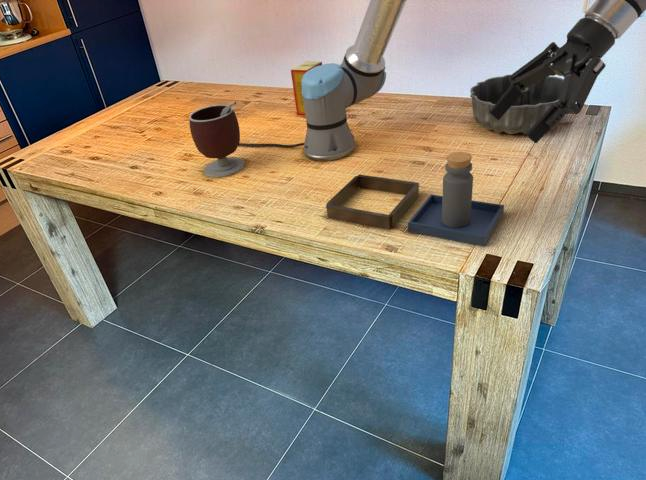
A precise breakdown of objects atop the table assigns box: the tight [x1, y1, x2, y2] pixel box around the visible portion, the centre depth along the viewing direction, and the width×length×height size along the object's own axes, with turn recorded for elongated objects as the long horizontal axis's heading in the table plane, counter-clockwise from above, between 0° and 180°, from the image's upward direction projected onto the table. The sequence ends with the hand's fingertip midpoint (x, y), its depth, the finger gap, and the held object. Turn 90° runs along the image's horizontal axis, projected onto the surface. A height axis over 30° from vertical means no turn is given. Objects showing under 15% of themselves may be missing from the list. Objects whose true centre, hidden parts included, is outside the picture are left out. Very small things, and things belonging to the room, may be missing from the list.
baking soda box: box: [290, 61, 323, 117], centre depth 177 cm, size 10×6×16 cm
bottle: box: [441, 151, 474, 228], centre depth 105 cm, size 6×6×15 cm
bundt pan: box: [469, 74, 564, 135], centre depth 143 cm, size 26×26×10 cm
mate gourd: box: [188, 101, 245, 178], centre depth 147 cm, size 16×14×20 cm
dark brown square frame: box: [325, 174, 420, 230], centre depth 120 cm, size 17×17×3 cm
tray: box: [407, 193, 505, 247], centre depth 109 cm, size 16×13×2 cm
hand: (511, 127), depth 99 cm, fingers open, 13 cm apart
